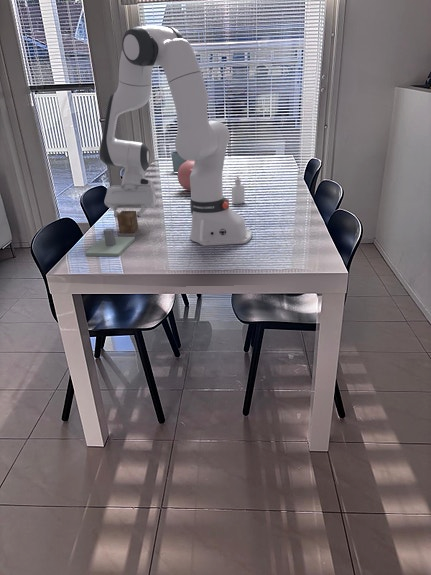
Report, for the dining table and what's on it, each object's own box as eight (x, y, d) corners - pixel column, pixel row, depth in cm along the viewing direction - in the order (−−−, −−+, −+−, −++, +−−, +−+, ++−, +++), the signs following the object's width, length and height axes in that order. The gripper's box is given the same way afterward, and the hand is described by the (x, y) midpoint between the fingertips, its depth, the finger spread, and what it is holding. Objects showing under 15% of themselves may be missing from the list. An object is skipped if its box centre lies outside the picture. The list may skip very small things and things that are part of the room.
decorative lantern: (179, 198, 206) (176, 165, 200) (178, 188, 224) (175, 158, 217) (211, 196, 207) (209, 163, 201) (207, 186, 225) (206, 156, 218)
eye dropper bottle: (232, 201, 196) (231, 175, 191) (244, 201, 196) (244, 175, 190) (231, 204, 192) (230, 177, 187) (244, 204, 192) (243, 177, 186)
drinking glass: (174, 170, 267) (173, 150, 262) (190, 170, 266) (189, 150, 261) (171, 174, 258) (169, 153, 253) (187, 173, 257) (185, 153, 252)
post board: (135, 239, 157) (132, 222, 154) (119, 256, 143) (116, 237, 140) (104, 239, 159) (101, 222, 156) (85, 255, 145) (81, 237, 142)
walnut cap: (138, 228, 168) (135, 210, 165) (133, 232, 163) (131, 215, 160) (124, 228, 169) (122, 210, 166) (119, 232, 164) (116, 215, 161)
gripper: (104, 181, 168) (98, 212, 163) (155, 180, 164) (150, 213, 160) (111, 189, 173) (105, 220, 169) (159, 189, 170) (154, 220, 166)
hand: (127, 216), depth 164 cm, fingers open, 8 cm apart
